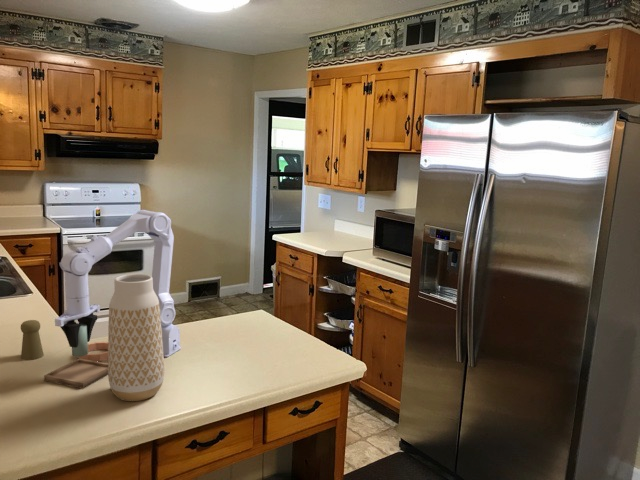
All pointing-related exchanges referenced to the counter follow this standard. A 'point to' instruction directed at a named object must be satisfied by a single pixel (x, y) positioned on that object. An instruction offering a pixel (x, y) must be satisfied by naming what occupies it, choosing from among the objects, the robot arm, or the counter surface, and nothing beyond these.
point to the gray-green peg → (81, 342)
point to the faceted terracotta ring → (99, 356)
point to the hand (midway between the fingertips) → (79, 343)
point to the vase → (135, 339)
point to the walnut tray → (78, 373)
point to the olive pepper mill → (31, 340)
